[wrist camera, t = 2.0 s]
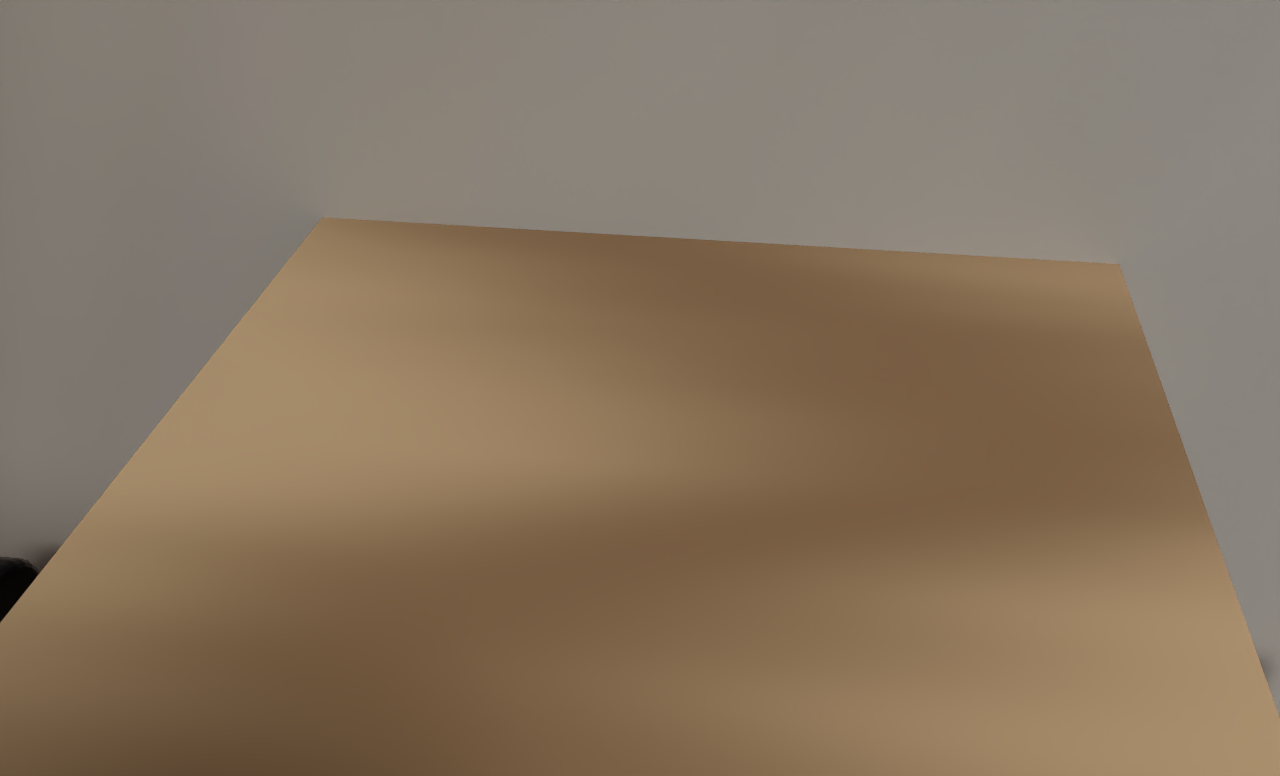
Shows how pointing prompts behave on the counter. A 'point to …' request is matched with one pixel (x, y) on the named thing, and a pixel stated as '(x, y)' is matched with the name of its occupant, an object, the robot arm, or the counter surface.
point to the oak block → (648, 529)
